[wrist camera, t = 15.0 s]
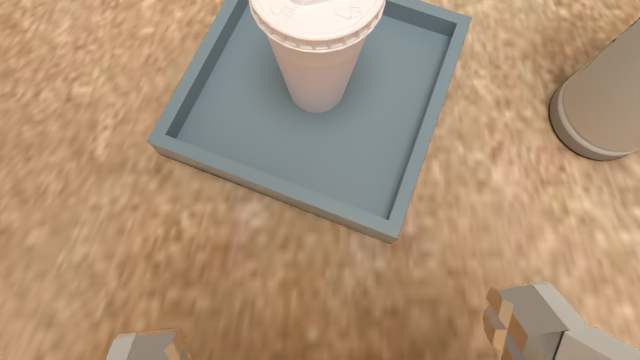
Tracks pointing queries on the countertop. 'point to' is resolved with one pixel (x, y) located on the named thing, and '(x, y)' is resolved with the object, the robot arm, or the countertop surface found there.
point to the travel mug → (602, 101)
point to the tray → (318, 116)
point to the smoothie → (316, 44)
